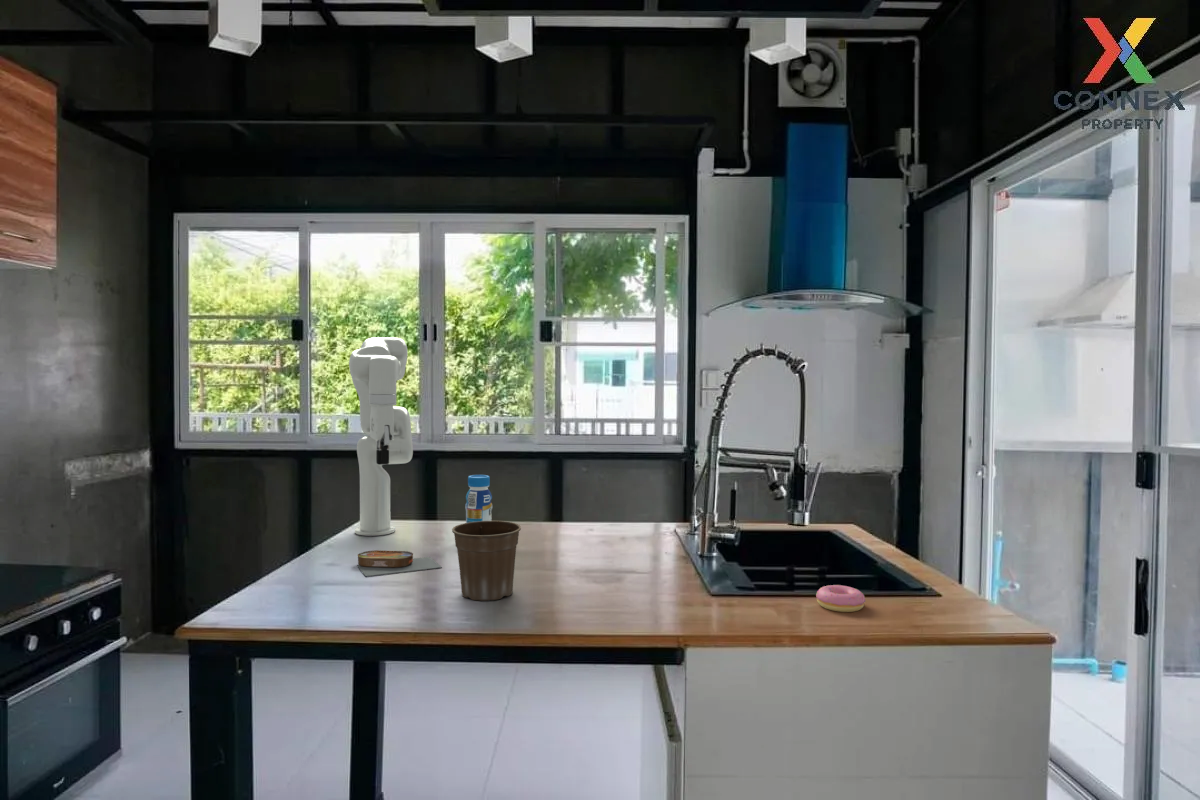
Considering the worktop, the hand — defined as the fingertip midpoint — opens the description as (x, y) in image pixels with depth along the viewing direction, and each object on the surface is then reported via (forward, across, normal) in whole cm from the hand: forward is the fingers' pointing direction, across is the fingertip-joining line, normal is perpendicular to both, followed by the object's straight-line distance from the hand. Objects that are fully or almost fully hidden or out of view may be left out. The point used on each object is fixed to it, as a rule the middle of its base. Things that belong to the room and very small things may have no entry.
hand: (382, 463), depth 216 cm
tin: (+25, +9, 0) cm, 26 cm away
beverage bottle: (+27, -5, +31) cm, 41 cm away
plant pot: (+25, +50, +13) cm, 57 cm away
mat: (+26, +17, +1) cm, 31 cm away
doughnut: (+24, +96, +82) cm, 129 cm away
